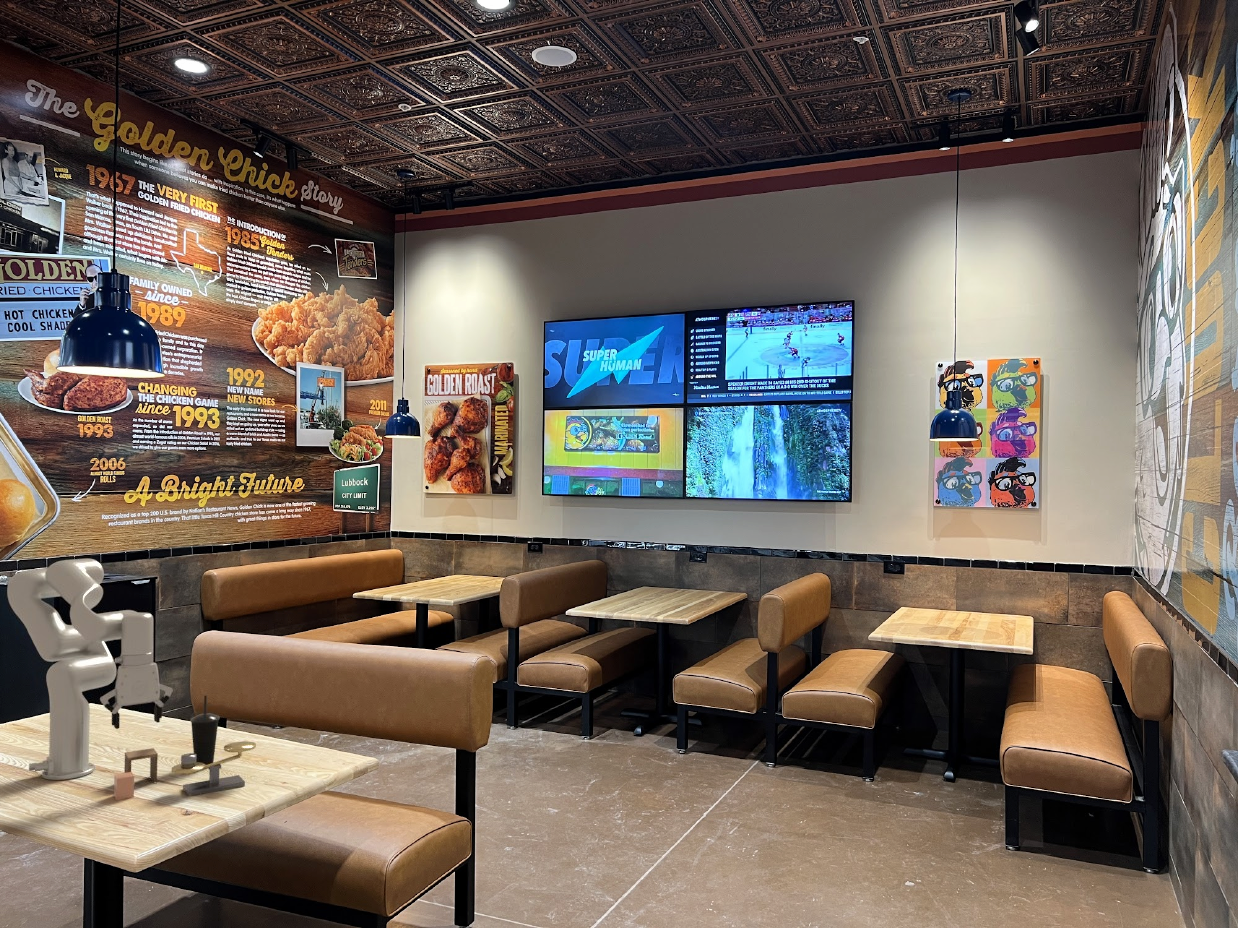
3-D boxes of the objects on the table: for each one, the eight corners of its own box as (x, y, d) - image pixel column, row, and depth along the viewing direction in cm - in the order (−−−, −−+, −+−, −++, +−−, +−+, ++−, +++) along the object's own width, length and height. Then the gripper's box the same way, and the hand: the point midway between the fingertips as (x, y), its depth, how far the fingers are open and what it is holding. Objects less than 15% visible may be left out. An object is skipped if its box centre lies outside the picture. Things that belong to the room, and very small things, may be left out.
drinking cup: (207, 770, 256) (208, 699, 256) (183, 768, 257) (184, 697, 258) (224, 762, 263) (225, 693, 264) (200, 760, 265) (202, 691, 265)
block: (116, 800, 232) (116, 778, 232) (113, 795, 235) (114, 774, 235) (133, 797, 234) (134, 775, 234) (131, 792, 238) (131, 771, 238)
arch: (127, 787, 242) (128, 757, 242) (124, 781, 246) (124, 752, 246) (156, 782, 246) (157, 753, 246) (152, 776, 250) (153, 747, 251)
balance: (174, 799, 233) (175, 760, 233) (168, 790, 239) (169, 752, 239) (258, 784, 245) (259, 746, 245) (250, 776, 252) (251, 739, 252)
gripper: (103, 666, 233) (102, 733, 233) (176, 657, 244) (175, 721, 244) (97, 661, 239) (97, 727, 239) (169, 653, 250) (168, 716, 250)
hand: (137, 724), depth 241 cm, fingers open, 9 cm apart
